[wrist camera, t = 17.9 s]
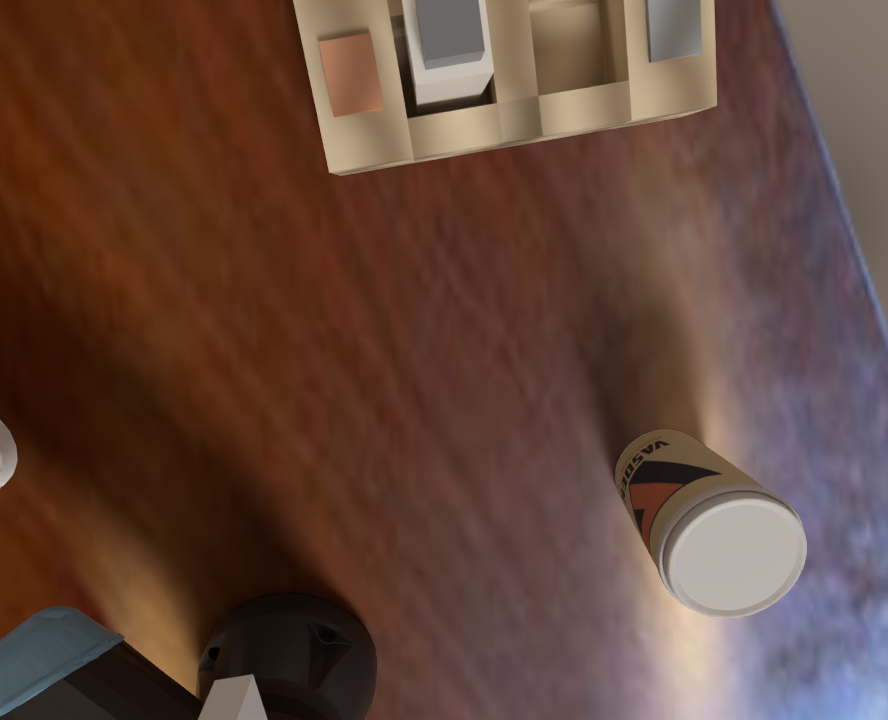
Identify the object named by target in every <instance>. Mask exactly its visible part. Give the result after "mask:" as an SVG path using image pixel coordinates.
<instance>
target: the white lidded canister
mask: <svg viewBox="0 0 888 720" xmlns="http://www.w3.org/2000/svg"><path fill="white" fill-rule="evenodd" d="M615 483H616V487H617V490H618V493H619V495H620V497H621V499H622V501H623V503H624V505H625V507H626V509H627V511H628V513H629V515H630V517H631V519H632V521H633V523H634V525H635V527H636V529H637V531H638V533H639V535H640V536H641V538H642V540H643V542H644V544H645V546H646V548H647V550H648V552H649V554H650V555H651V557H652V559H653V561H654V563H655V565H656V567H657V569H658V572H659V575H660V577H661V579H662V582H663V584H664V585H665V587H666V589H667V590H668V591H669V593H670V594H671V595H672V596H673V597H674V598H675V599H676V600H677V601H678V602H680V603H681V604H682V605H684V606H686V607H688V608H690V609H692V610H694V611H696V612H698V613H700V614H703V615H706V616H709V617H715V618H739V617H744V616H748V615H752V614H754V613H757V612H759V611H761V610H764V609H766V608H767V607H769V606H771V605H772V604H774V603H775V602H777V601H778V600H779V599H781V598H782V597H783V596H784V595H785V594H786V593H787V592H788V591H789V590H790V589H791V587H792V586H793V585H794V584H795V582H796V581H797V579H798V577H799V575H800V573H801V571H802V569H803V567H804V563H805V559H806V554H807V542H806V536H805V533H804V530H803V526H802V523H801V520H800V518H799V516H798V515H797V513H796V512H795V510H794V509H793V508H792V507H791V505H790V504H789V503H788V502H787V501H785V500H784V499H783V498H782V497H780V496H778V495H777V494H775V493H774V492H772V491H770V490H768V489H766V488H764V487H763V486H762V485H760V484H759V483H757V482H756V481H755V480H753V479H752V478H751V477H749V476H748V475H746V474H745V473H743V472H742V471H741V470H739V469H738V468H736V467H735V466H734V465H732V464H731V463H729V462H728V461H727V460H725V459H724V458H722V457H721V456H719V455H718V454H716V453H715V452H714V451H712V450H711V449H709V448H708V447H706V446H705V445H704V444H702V443H701V442H699V441H698V440H696V439H694V438H693V437H691V436H689V435H688V434H686V433H683V432H681V431H677V430H671V429H660V430H654V431H651V432H648V433H645V434H643V435H641V436H639V437H638V438H636V439H635V440H634V441H632V442H631V443H630V444H629V445H628V446H627V447H626V448H625V450H624V451H623V452H622V454H621V456H620V458H619V460H618V462H617V465H616V470H615Z"/></svg>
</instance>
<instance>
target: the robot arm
mask: <svg viewBox="0 0 888 720" xmlns="http://www.w3.org/2000/svg"><path fill="white" fill-rule="evenodd" d="M124 638H125V637H124V636H123V635H121V634H120V633H117V634H114V633H113V632H111V631H109V630H108V629H106V628H105V627H103V626H102V625H100V624H99V623H97V622H96V621H94V620H93V619H91V618H90V617H88V616H87V615H85V614H84V613H82V612H81V611H79V610H78V609H75V608H73V607H69V606H54V607H49V608H46V609H43V610H41V611H39V612H37V613H35V614H34V615H32V616H31V617H30V618H28V619H27V620H25V621H24V622H23V623H21V624H20V625H19V626H18V627H16V628H15V629H14V630H12V631H11V632H10V633H9V634H7V635H6V636H5V637H4V638H2V639H1V640H0V720H364V719H365V717H366V715H367V713H368V711H369V709H370V706H371V704H372V700H373V697H374V692H375V685H376V675H377V657H376V652H375V648H374V646H373V643H372V641H371V639H370V637H369V635H368V633H367V632H366V630H365V629H364V628H363V626H362V625H361V624H360V623H359V622H358V621H357V620H356V619H355V618H354V617H353V616H352V615H350V614H349V613H348V612H346V611H345V610H343V609H342V608H340V607H338V606H336V605H334V604H332V603H330V602H328V601H325V600H322V599H319V598H316V597H312V596H307V595H300V594H277V595H270V596H265V597H261V598H258V599H255V600H252V601H250V602H247V603H245V604H243V605H241V606H239V607H238V608H236V609H235V610H233V611H232V612H231V613H229V614H228V615H227V616H226V617H225V618H224V619H223V620H222V621H221V622H220V623H219V624H218V626H217V627H216V629H215V630H214V632H213V634H212V636H211V638H210V640H209V642H208V644H207V646H206V648H205V650H204V652H203V654H202V657H201V660H200V664H199V667H198V673H197V685H196V697H195V696H194V695H193V694H191V693H190V692H189V691H188V690H186V689H185V688H184V687H182V686H181V685H180V684H178V683H177V682H176V681H174V680H173V679H172V678H171V677H169V676H168V675H167V674H165V673H164V672H163V671H161V670H160V669H159V668H158V667H156V666H155V665H154V664H153V663H152V662H150V661H149V660H148V659H147V658H145V657H144V656H143V655H142V654H140V653H139V652H138V651H137V650H135V649H134V648H133V647H132V646H130V645H129V644H128V643H127V642H125V641H124V640H123V639H124Z"/></svg>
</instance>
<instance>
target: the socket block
mask: <svg viewBox="0 0 888 720" xmlns="http://www.w3.org/2000/svg"><path fill="white" fill-rule="evenodd" d="M293 2H294V7H295V11H296V16H297V21H298V26H299V30H300V35H301V40H302V45H303V50H304V54H305V59H306V64H307V69H308V73H309V78H310V83H311V88H312V92H313V97H314V102H315V107H316V111H317V116H318V121H319V126H320V130H321V135H322V140H323V145H324V150H325V154H326V159H327V164H328V169H329V172H330V173H333V174H337V175H340V176H341V175H347V174H353V173H359V172H365V171H370V170H376V169H382V168H388V167H394V166H400V165H405V164H411V163H417V162H423V161H429V160H434V159H440V158H446V157H452V156H458V155H464V154H469V153H475V152H481V151H487V150H493V149H498V148H504V147H510V146H516V145H522V144H528V143H533V142H539V141H545V140H551V139H557V138H562V137H568V136H574V135H580V134H586V133H592V132H597V131H603V130H609V129H615V128H621V127H626V126H632V125H638V124H644V123H650V122H656V121H661V120H667V119H673V118H679V117H683V116H686V115H689V114H692V113H696V112H699V111H702V110H705V109H708V108H711V107H714V106H717V86H716V50H715V14H714V0H485V3H486V11H487V19H488V27H489V35H490V43H491V51H492V58H493V66H494V73H493V74H492V76H491V78H490V80H489V82H488V83H487V85H486V87H485V89H484V90H483V92H482V94H481V96H480V97H479V99H478V101H477V103H476V104H472V105H466V106H460V107H454V108H448V109H443V110H437V111H431V112H425V113H420V114H417V109H416V103H415V97H414V90H413V84H412V78H411V72H410V66H409V60H408V54H407V47H406V37H405V28H404V18H403V8H402V0H293Z"/></svg>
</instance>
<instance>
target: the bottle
mask: <svg viewBox="0 0 888 720" xmlns="http://www.w3.org/2000/svg"><path fill="white" fill-rule="evenodd" d="M17 461H18V460H17V448H16V444H15V442H14V439H13V437H12V435H11V432H10V431H9V429H8V428H7V427H6V426H5V425H4V423H3V422H2V421H1V420H0V488H1V487H2V486H3V485H5V484H6V482H7V481H8V480H9V479H10V478H11V476H12V475H13V474H14V471H15V467H16V464H17Z"/></svg>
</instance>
